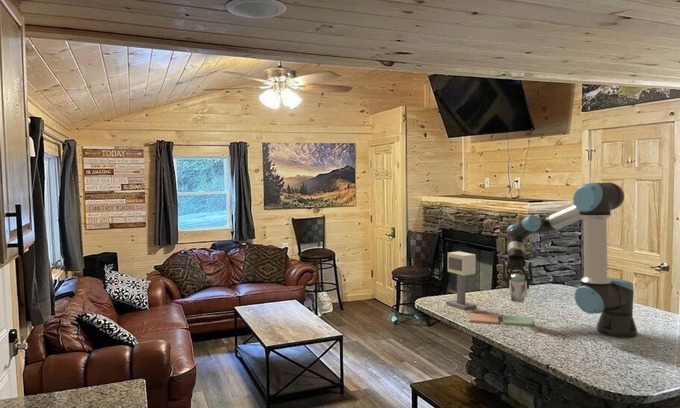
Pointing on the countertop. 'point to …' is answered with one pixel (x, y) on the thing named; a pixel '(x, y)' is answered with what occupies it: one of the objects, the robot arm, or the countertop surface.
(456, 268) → the mounted unit
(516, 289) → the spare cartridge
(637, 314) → the countertop surface
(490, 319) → the terracotta tile
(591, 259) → the robot arm
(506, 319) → the green tile
